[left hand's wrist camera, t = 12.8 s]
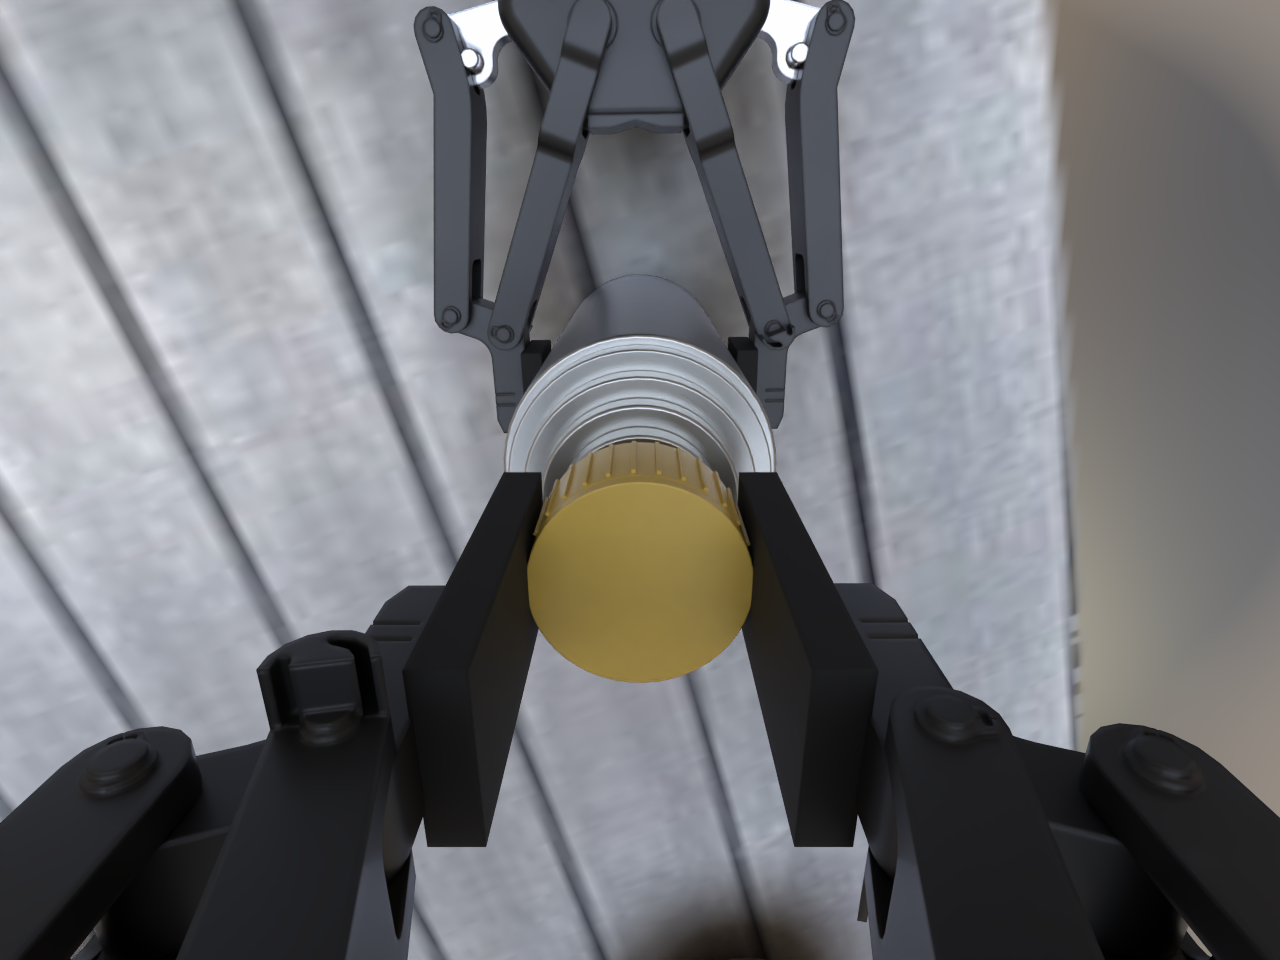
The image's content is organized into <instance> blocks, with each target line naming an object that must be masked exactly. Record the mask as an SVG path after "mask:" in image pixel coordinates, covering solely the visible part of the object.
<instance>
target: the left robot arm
mask: <svg viewBox="0 0 1280 960" xmlns="http://www.w3.org/2000/svg"><path fill="white" fill-rule="evenodd" d="M542 506H543V492H542V473H541V472H504V473H503V475H502V477H501V479H500V481H499V483H498V485H497V487H496V489H495V491H494V492H493V494H492V496H491V498H490V500H489V502H488V504H487V506H486V508H485V510H484V512H483V514H482V516H481V518H480V520H479V522H478V524H477V526H476V528H475V529H474V531H473V533H472V535H471V537H470V539H469V541H468V543H467V545H466V547H465V549H464V551H463V553H462V555H461V557H460V559H459V561H458V563H457V565H456V566H455V568H454V570H453V572H452V574H451V576H450V578H449V580H448V582H447V584H446V586H407V587H406V588H405V589H403V590H402V591H400V592H399V593H398V594H396V595H395V596H393V597H392V598H391V599H389V600H388V601H386V602H385V604H384V605H383V607H382V608H381V610H380V611H379V613H378V615H377V616H376V618H375V619H374V621H373V625H370V627H369V628H368V630H367V632H366V633H365V634H364V633H361V632H357V631H353V630H331V631H326V632H321V633H316V634H311V635H307V636H305V637H302V638H300V639H297V640H295V641H292V642H290V643H287V644H285V645H284V646H282V647H281V648H279V649H278V650H276V651H274V652H273V653H271V654H270V655H268V656H267V657H266V659H265V660H264V661H263V662H262V664H261V665H260V666H259V667H258V668H257V674H258V679H259V683H260V687H261V692H262V696H263V700H264V704H265V709H266V713H267V717H268V721H269V726H270V732H269V734H268V737H267V739H266V740H263V741H259V742H256V743H252V744H249V745H245V746H240V747H236V748H231V749H226V750H222V751H217V752H213V753H208V754H204V755H199V756H196V755H195V752H194V748H193V745H192V741H191V739H190V738H189V737H188V736H187V735H186V734H185V733H184V732H182V731H181V730H179V729H173V728H168V727H163V726H161V727H150V728H140V729H135V730H132V731H128V732H125V733H121V734H118V735H115V736H112V737H109V738H107V739H106V740H104V741H101V742H99V743H97V744H95V745H93V746H91V747H89V748H87V749H85V750H83V751H82V752H81V753H79V754H78V755H77V756H75V757H74V758H73V759H71V760H70V761H69V762H67V763H66V764H64V765H63V766H62V767H61V768H60V769H58V770H57V771H56V772H55V773H54V774H53V775H52V776H51V777H50V778H49V779H48V780H46V781H45V782H44V783H43V784H42V785H41V786H40V787H39V788H38V789H37V790H36V791H35V792H33V793H32V794H31V795H30V796H29V797H28V798H27V799H26V800H25V801H24V802H23V803H21V804H20V805H19V806H18V807H17V808H16V809H15V810H14V811H13V812H12V813H11V814H10V815H8V816H7V817H6V818H5V819H4V820H3V821H2V822H1V823H0V960H407V958H408V948H409V938H410V929H411V919H412V909H413V900H414V890H415V880H416V874H415V867H414V860H413V854H412V846H413V843H414V840H415V837H416V835H417V832H418V829H419V826H420V823H421V820H422V818H423V819H424V826H425V833H426V840H427V847H486V845H487V841H488V837H489V833H490V828H491V824H492V820H493V816H494V812H495V808H496V803H497V799H498V795H499V791H500V787H501V783H502V779H503V774H504V770H505V766H506V762H507V758H508V754H509V749H510V745H511V741H512V737H513V733H514V729H515V724H516V720H517V716H518V712H519V708H520V704H521V699H522V695H523V691H524V687H525V683H526V679H527V675H528V670H529V666H530V662H531V658H532V654H533V650H534V645H535V641H536V637H537V633H538V629H539V628H538V626H537V624H536V622H535V620H534V618H533V616H532V613H531V610H530V605H529V591H528V575H527V564H528V560H529V557H530V553H531V550H532V546H533V543H534V540H535V537H536V536H535V535H533V533H534V530H535V527H536V524H537V521H538V518H539V515H540V512H541V509H542ZM737 506H738V508H739V511H740V514H741V517H742V520H743V523H744V526H745V529H746V532H747V535H748V538H749V541H750V546H748V549H749V552H750V556H751V559H752V564H753V583H752V598H751V607H750V611H749V613H748V616H747V618H746V620H745V623H744V624H743V626H742V631H743V635H744V639H745V644H746V648H747V652H748V656H749V660H750V664H751V669H752V673H753V677H754V681H755V685H756V689H757V693H758V698H759V702H760V706H761V710H762V714H763V718H764V723H765V727H766V731H767V735H768V739H769V743H770V748H771V752H772V756H773V760H774V764H775V768H776V772H777V777H778V781H779V785H780V789H781V793H782V797H783V802H784V806H785V810H786V814H787V818H788V822H789V826H790V831H791V835H792V839H793V843H794V847H853V843H854V836H855V829H856V822H857V816H859V818H860V821H861V824H862V827H863V830H864V832H865V835H866V838H867V841H868V844H869V848H868V854H867V860H866V867H865V873H864V880H863V886H862V892H861V899H860V905H859V912H858V919H857V921H863V922H867V917H869V927H870V937H871V946H872V956H873V960H1280V818H1279V817H1278V816H1277V815H1276V814H1275V813H1274V812H1273V811H1272V810H1271V809H1270V808H1268V807H1267V806H1266V805H1265V804H1264V803H1263V802H1262V801H1261V800H1260V799H1259V798H1257V797H1256V796H1255V795H1254V794H1253V793H1252V792H1251V791H1250V790H1249V789H1248V788H1247V787H1245V786H1244V785H1243V784H1242V783H1241V782H1240V781H1239V780H1238V779H1237V778H1236V777H1235V776H1233V775H1232V774H1231V773H1230V772H1229V771H1228V770H1227V769H1226V768H1225V767H1224V766H1222V765H1221V764H1220V763H1219V762H1218V761H1216V760H1215V759H1213V758H1212V757H1211V756H1209V755H1208V754H1207V753H1205V752H1204V751H1202V750H1201V749H1200V748H1198V747H1197V746H1195V745H1192V744H1190V743H1188V742H1186V741H1184V740H1182V739H1180V738H1178V737H1176V736H1174V735H1172V734H1170V733H1167V732H1164V731H1161V730H1156V729H1154V728H1149V727H1146V726H1141V725H1131V724H1121V723H1119V724H1113V725H1108V726H1103V727H1100V728H1099V729H1098V730H1097V731H1096V732H1095V733H1093V734H1092V735H1091V736H1090V740H1089V743H1088V747H1087V750H1086V753H1082V752H1077V751H1072V750H1068V749H1063V748H1059V747H1054V746H1049V745H1045V744H1040V743H1036V742H1032V741H1028V740H1025V739H1021V738H1018V737H1015V736H1012V733H1011V731H1010V729H1009V727H1008V726H1007V724H1006V723H1005V721H1004V720H1003V719H1002V717H1001V716H1000V714H999V713H997V712H996V711H995V710H993V709H992V708H991V707H989V706H988V705H987V704H986V703H984V702H983V701H981V700H979V699H977V698H975V697H972V696H970V695H968V694H966V693H964V692H961V691H958V690H954V689H953V688H952V686H951V685H950V683H949V682H948V680H947V679H946V677H945V676H944V674H943V672H942V671H941V669H940V668H939V666H938V665H937V663H936V662H935V660H934V659H933V657H932V656H931V654H930V652H929V651H928V649H927V648H926V646H925V645H924V643H923V642H922V640H921V639H918V634H917V632H916V631H915V629H914V628H913V626H912V625H911V623H908V619H907V617H906V615H905V614H904V612H903V611H902V609H901V608H900V606H899V605H898V603H897V602H896V600H895V599H893V598H892V597H891V596H889V595H888V594H886V593H885V592H884V591H882V590H881V589H879V588H878V587H876V586H875V585H874V584H872V583H833V581H832V579H831V577H830V575H829V573H828V571H827V569H826V567H825V566H824V564H823V562H822V560H821V558H820V556H819V554H818V552H817V550H816V548H815V546H814V544H813V542H812V540H811V538H810V536H809V534H808V532H807V530H806V529H805V527H804V525H803V523H802V521H801V519H800V517H799V515H798V513H797V511H796V509H795V507H794V505H793V503H792V501H791V499H790V497H789V495H788V494H787V492H786V490H785V488H784V486H783V484H782V482H781V480H780V478H779V476H778V474H777V472H739V482H738V500H737ZM1188 926H1189V927H1190V928H1191V929H1192V930H1193V932H1194V933H1195V934H1196V935H1197V936H1198V938H1199V939H1200V940H1201V941H1202V943H1203V944H1204V945H1205V946H1206V948H1207V949H1208V950H1209V951H1210V953H1211V954H1212V957H1210V956H1208V955H1207V954H1206V953H1205V952H1204V951H1203V950H1202V949H1201V948H1200V947H1199V946H1198V945H1197V944H1196V942H1195V941H1194V940H1193V939H1192V937H1191V936H1190V935H1189V934H1188V932H1187V928H1188ZM93 929H94V932H95V935H94V936H93V937H92V938H91V940H90V941H89V942H88V943H87V945H86V946H85V947H84V948H83V949H82V950H81V951H80V952H79V953H78V954H77V955H76V956H75V957H74V958H73V959H70V957H71V956H72V955H73V954H74V952H75V951H76V950H77V949H78V947H79V946H80V945H81V944H82V942H83V941H84V940H85V939H86V937H87V936H88V935H89V934H90V932H91V931H92V930H93Z"/></svg>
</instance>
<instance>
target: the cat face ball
mask: <svg viewBox="0 0 1280 960" xmlns="http://www.w3.org/2000/svg"><path fill="white" fill-rule="evenodd" d="M727 960H765V959H757V958H735V959H727Z"/></svg>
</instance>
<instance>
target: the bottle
mask: <svg viewBox="0 0 1280 960" xmlns="http://www.w3.org/2000/svg"><path fill="white" fill-rule="evenodd" d="M632 441H636V442H648V443H655V442H659V444H662V445H666V446H670V447H673V448H677V447H679V448H681V449H682V451H684V452H686V453H688V454H690V455H692V456H693V457H695V458H698V457H699V458H701V459H702V462H703V463H704V464H705V465H706V466H708V467H709V468H710V469H711V470H712V471H713V472H714V471H716V472H717V473H718V475H719V478H720V480H721V481H722V483H723V484H724V485H725V487H726V488H728V487H729V488H730V490H731V492H732V495H733V499H734V502H735V505H736V506H737V500H738V482H739V472H776V449H775V443H774V437H773V432H772V429H771V426H770V423H769V420H768V417H767V414H766V412H765V410H764V408H763V406H762V404H761V402H760V400H759V399H758V397H757V395H756V394H755V392H754V391H753V389H752V387H751V386H750V384H749V382H748V381H747V379H746V378H745V376H744V374H743V373H742V371H741V370H740V368H739V366H738V365H737V363H736V362H735V360H734V358H733V357H732V355H731V353H730V352H729V350H728V349H727V347H726V345H725V344H724V342H723V341H722V339H721V337H720V336H719V334H718V333H717V331H716V329H715V328H714V326H713V325H712V323H711V321H710V320H709V318H708V316H707V315H706V313H705V312H704V310H703V309H702V307H701V306H700V304H699V303H698V302H697V301H696V300H695V298H694V297H693V296H692V295H690V294H689V293H688V292H687V291H686V290H685V289H683V288H682V287H680V286H678V285H677V284H675V283H673V282H671V281H669V280H666V279H663V278H660V277H656V276H650V275H630V276H624V277H620V278H617V279H614V280H612V281H609V282H607V283H605V284H603V285H602V286H600V287H598V288H597V289H596V290H594V291H593V292H592V293H590V294H589V295H588V296H587V297H586V298H585V299H584V300H583V302H582V303H581V304H580V306H579V307H578V308H577V310H576V312H575V313H574V315H573V316H572V318H571V320H570V321H569V323H568V324H567V326H566V328H565V329H564V331H563V332H562V334H561V336H560V337H559V339H558V341H557V342H556V344H555V345H554V347H553V349H552V350H551V352H550V353H549V355H548V357H547V358H546V360H545V362H544V363H543V365H542V366H541V368H540V370H539V371H538V373H537V374H536V376H535V378H534V379H533V381H532V382H531V384H530V386H529V387H528V389H527V391H526V392H525V394H524V396H523V397H522V399H521V401H520V403H519V404H518V406H517V408H516V410H515V412H514V415H513V417H512V420H511V422H510V425H509V429H508V433H507V437H506V441H505V451H504V472H541V473H542V492H543V503H544V500H545V497H548V498H549V496H550V494H551V492H552V489H553V486H554V483H555V481H556V479H558V480H560V479H561V478H562V476H563V475H564V474H565V473H566V472H567V471H568V470H569V466H570V465H571V464H574V465H575V464H576V463H577V462H579V461H580V460H582V459H583V458H585V457H586V456H588V453H590V452H592V453H594V452H596V451H598V450H601V449H604V448H607V447H609V445H610V444H613V445H618V444H623V443H632Z"/></svg>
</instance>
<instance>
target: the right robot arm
mask: <svg viewBox="0 0 1280 960" xmlns="http://www.w3.org/2000/svg"><path fill="white" fill-rule="evenodd" d="M854 23H855V16H854V12H853V9H852V8H851V6H850V5H849V4H848V3H847V2H845V1H843V0H832V1H829V2H827V3H826V4H825V5H824V6H823V7H822V8H817V7H814V6H810V5H806V4H802V3H798V2H795V1H791V0H495V1H492V2H488V3H485V4H482V5H479V6H475V7H472V8H469V9H465V10H462V11H459V12H455V13H452V14H446V13H445V12H444V11H443V10H442V9H439V8H437V7H434V6H432V7H425V8H424V9H422V10H420V11H419V13H418V14H417V16H416V17H415V22H414V32H415V37H416V40H417V43H418V46H419V49H420V52H421V56H422V59H423V62H424V65H425V68H426V71H427V75H428V78H429V81H430V84H431V87H432V91H433V94H434V317H435V321H436V323H437V325H438V326H439V327H440V328H441V329H442V330H443V331H445V332H448V333H461V334H463V335H466V336H469V337H472V338H475V339H478V340H480V341H481V342H483V343H484V344H485V345H486V346H487V347H488V349H489V351H490V353H491V356H492V363H493V374H494V385H495V394H496V404H497V418H498V422H499V424H500V426H501V428H502V430H503V432H504V433H508V429H509V425H510V422H511V420H512V417H513V415H514V412H515V410H516V408H517V406H518V404H519V403H520V401H521V399H522V397H523V396H524V394H525V392H526V391H527V389H528V387H529V386H530V384H531V382H532V381H533V379H534V378H535V376H536V374H537V373H538V371H539V370H540V368H541V366H542V365H543V363H544V362H545V360H546V358H547V357H548V355H549V353H550V352H551V340H531V341H530V337H529V332H530V330H531V329H532V327H533V326H532V321H533V318H534V315H535V311H536V308H537V304H538V301H539V298H540V294H541V291H542V288H543V284H544V281H545V278H546V274H547V271H548V268H549V264H550V261H551V257H552V254H553V251H554V247H555V244H556V241H557V237H558V234H559V231H560V227H561V224H562V221H563V217H564V214H565V210H566V207H567V204H568V200H569V197H570V194H571V190H572V187H573V184H574V180H575V177H576V173H577V170H578V167H579V164H580V162H581V160H582V157H583V154H584V151H585V148H586V144H587V141H588V138H589V134H590V132H591V134H615V133H619V132H622V131H625V130H628V129H631V128H635V127H638V128H642V129H645V130H649V131H652V132H656V133H681V131H683V134H684V137H685V140H686V143H687V146H688V149H689V152H690V155H691V157H692V159H693V161H694V164H695V167H696V169H697V172H698V175H699V178H700V181H701V184H702V187H703V190H704V193H705V196H706V199H707V202H708V205H709V208H710V211H711V214H712V217H713V220H714V223H715V226H716V230H717V233H718V236H719V239H720V242H721V245H722V248H723V251H724V254H725V257H726V260H727V263H728V266H729V269H730V272H731V275H732V278H733V281H734V284H735V287H736V290H737V293H738V296H739V299H740V302H741V305H742V308H743V311H744V314H745V317H746V320H747V323H748V326H749V338H748V337H728V350H729V352H730V353H731V355H732V357H733V358H734V360H735V362H736V363H737V365H738V366H739V368H740V370H741V371H742V373H743V374H744V376H745V378H746V379H747V381H748V382H749V384H750V386H751V387H752V389H753V391H754V392H755V394H756V395H757V397H758V399H759V400H760V402H761V404H762V406H763V408H764V410H765V412H766V414H767V417H768V420H769V423H770V426H771V429H777V428H778V426H779V424H780V422H781V420H782V417H783V412H784V395H785V378H786V361H787V351H788V348H789V346H790V345H791V343H792V342H793V341H794V339H795V338H796V337H797V336H799V335H801V334H802V333H805V332H808V331H810V330H813V329H816V328H818V327H829V326H832V325H834V324H836V323H837V322H838V321H839V320H840V318H841V317H842V315H843V309H844V300H843V266H842V233H841V200H840V167H839V133H838V100H837V86H838V83H839V79H840V75H841V72H842V68H843V65H844V61H845V58H846V54H847V51H848V47H849V43H850V40H851V36H852V33H853V29H854ZM756 37H759V38H761V39H763V40H764V41H765V42H767V43H768V45H769V47H770V48H771V52H772V68H773V72H774V74H775V76H776V77H777V78H778V79H779V80H780V81H782V82H784V83H787V84H788V86H787V92H786V102H785V124H786V143H787V161H788V179H789V198H790V216H791V235H792V253H793V272H794V290H795V294H792V295H789V296H787V297H784V298H783V297H782V294H781V291H780V288H779V284H778V281H777V278H776V275H775V272H774V268H773V265H772V262H771V259H770V255H769V252H768V249H767V246H766V243H765V239H764V236H763V233H762V230H761V227H760V223H759V220H758V217H757V214H756V211H755V207H754V204H753V201H752V198H751V194H750V191H749V188H748V185H747V182H746V178H745V175H744V172H743V169H742V166H741V162H740V159H739V156H738V153H737V150H736V146H735V142H734V134H733V129H732V126H731V122H730V119H729V116H728V113H727V110H726V106H725V103H724V100H723V97H722V93H721V90H722V89H723V87H724V86H725V84H726V83H727V81H728V80H729V78H730V77H731V75H732V74H733V72H734V71H735V69H736V67H737V66H738V64H739V63H740V61H741V60H742V58H743V57H744V55H745V54H746V52H747V51H748V49H749V48H750V46H751V45H752V43H753V42H754V40H755V39H756ZM511 41H513V42H514V44H515V45H516V47H517V48H518V49H519V51H520V52H521V54H522V55H523V57H524V58H525V59H526V61H527V62H528V64H529V65H530V67H531V68H532V69H533V71H534V72H535V74H536V75H537V77H538V78H539V79H540V81H541V82H542V84H543V85H544V86H545V88H546V89H547V91H548V92H549V94H550V95H549V99H548V102H547V106H546V110H545V113H544V117H543V121H542V124H541V128H540V132H539V137H538V147H537V151H536V155H535V159H534V162H533V166H532V170H531V173H530V177H529V180H528V184H527V188H526V191H525V195H524V198H523V202H522V206H521V209H520V213H519V217H518V220H517V224H516V227H515V231H514V235H513V238H512V242H511V246H510V249H509V253H508V256H507V260H506V264H505V267H504V271H503V275H502V278H501V282H500V285H499V289H498V293H497V296H496V300H495V303H494V302H491V301H488V300H485V299H483V272H484V228H485V184H486V141H487V112H486V103H485V95H484V91H483V89H484V88H487V87H489V86H491V85H492V84H493V83H494V82H495V80H496V78H497V74H498V56H499V52H500V51H501V49H502V47H503V46H504V45H505V44H507V43H509V42H511Z"/></svg>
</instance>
